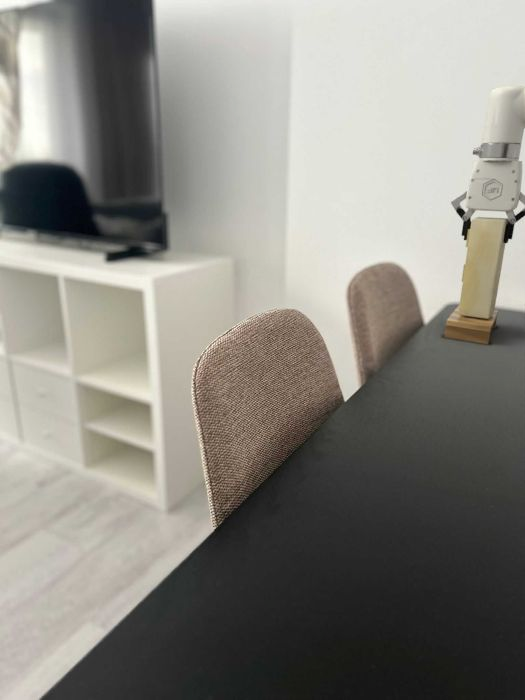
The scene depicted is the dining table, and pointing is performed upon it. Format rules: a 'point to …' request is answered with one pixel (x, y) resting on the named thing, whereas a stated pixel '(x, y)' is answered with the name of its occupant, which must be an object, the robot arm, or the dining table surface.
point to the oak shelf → (470, 327)
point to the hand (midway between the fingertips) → (485, 240)
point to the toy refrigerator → (482, 266)
